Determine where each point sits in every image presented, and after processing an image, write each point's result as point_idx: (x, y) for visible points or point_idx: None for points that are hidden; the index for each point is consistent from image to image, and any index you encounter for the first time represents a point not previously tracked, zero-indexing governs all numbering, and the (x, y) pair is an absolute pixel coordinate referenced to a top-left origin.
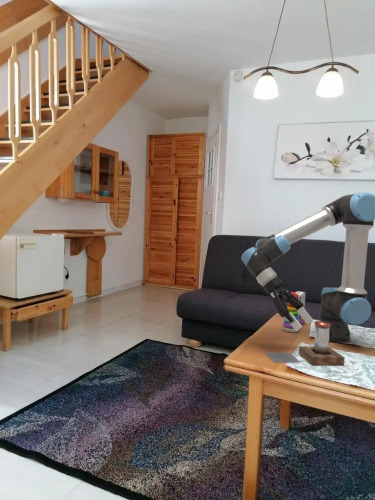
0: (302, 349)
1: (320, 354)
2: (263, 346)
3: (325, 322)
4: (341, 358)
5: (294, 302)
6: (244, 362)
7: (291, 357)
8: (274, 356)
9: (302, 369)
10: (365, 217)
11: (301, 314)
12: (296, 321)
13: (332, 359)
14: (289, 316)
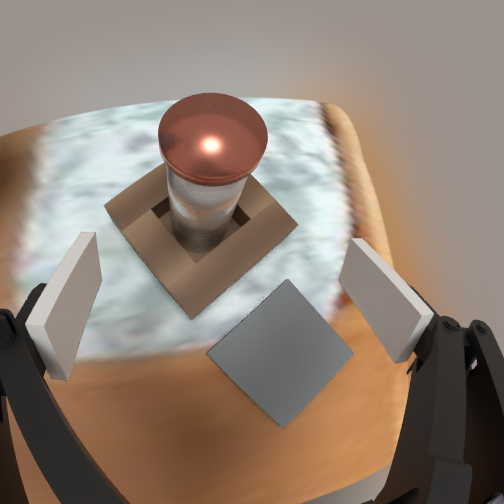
0: (223, 290)
1: (241, 206)
2: (193, 473)
3: (197, 117)
4: None
5: (70, 431)
6: (395, 418)
7: (263, 325)
8: (300, 381)
9: (329, 256)
10: None
11: (76, 329)
12: (385, 268)
13: None
14: (432, 308)
